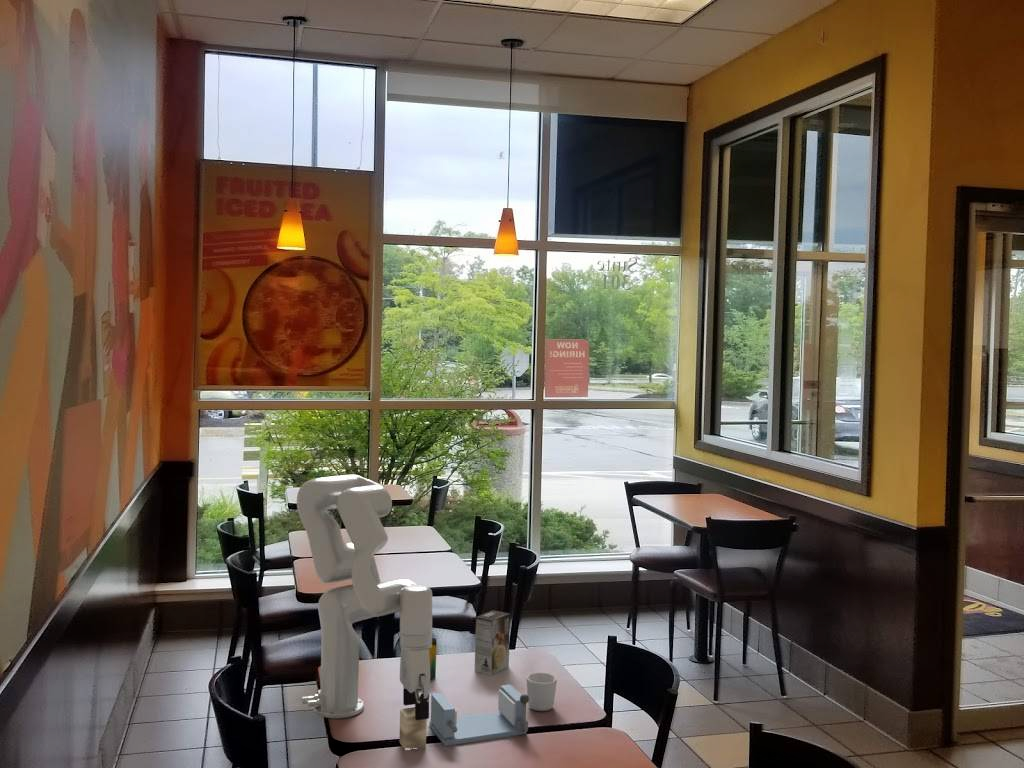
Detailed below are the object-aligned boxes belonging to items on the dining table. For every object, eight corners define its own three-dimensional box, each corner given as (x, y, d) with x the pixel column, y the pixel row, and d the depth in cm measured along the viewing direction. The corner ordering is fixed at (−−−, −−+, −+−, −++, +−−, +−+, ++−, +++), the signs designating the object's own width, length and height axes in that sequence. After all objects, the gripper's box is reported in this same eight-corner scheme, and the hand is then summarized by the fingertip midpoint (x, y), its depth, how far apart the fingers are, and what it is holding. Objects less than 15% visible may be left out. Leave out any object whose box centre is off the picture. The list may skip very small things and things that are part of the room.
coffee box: (491, 662, 270) (493, 609, 269) (509, 667, 266) (510, 613, 266) (473, 671, 262) (475, 616, 262) (491, 676, 259) (493, 620, 258)
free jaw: (449, 745, 210) (450, 716, 209) (430, 721, 223) (431, 693, 223) (462, 743, 211) (463, 714, 210) (443, 719, 224) (443, 692, 224)
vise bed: (447, 749, 211) (448, 706, 210) (429, 725, 224) (430, 684, 223) (529, 737, 219) (531, 695, 218) (507, 714, 232) (509, 675, 231)
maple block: (405, 751, 209) (406, 717, 209) (399, 742, 214) (400, 709, 214) (425, 748, 211) (426, 714, 211) (419, 739, 216) (420, 706, 216)
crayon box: (409, 675, 257) (410, 635, 257) (416, 672, 260) (417, 632, 259) (429, 681, 253) (430, 640, 252) (436, 678, 255) (437, 638, 255)
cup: (516, 700, 242) (517, 670, 241) (543, 696, 245) (544, 667, 245) (533, 715, 232) (534, 684, 231) (561, 711, 235) (562, 681, 235)
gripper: (390, 630, 218) (390, 701, 218) (411, 651, 202) (410, 727, 202) (420, 627, 221) (420, 697, 221) (442, 647, 205) (442, 722, 205)
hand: (415, 711), depth 212 cm, fingers open, 9 cm apart
